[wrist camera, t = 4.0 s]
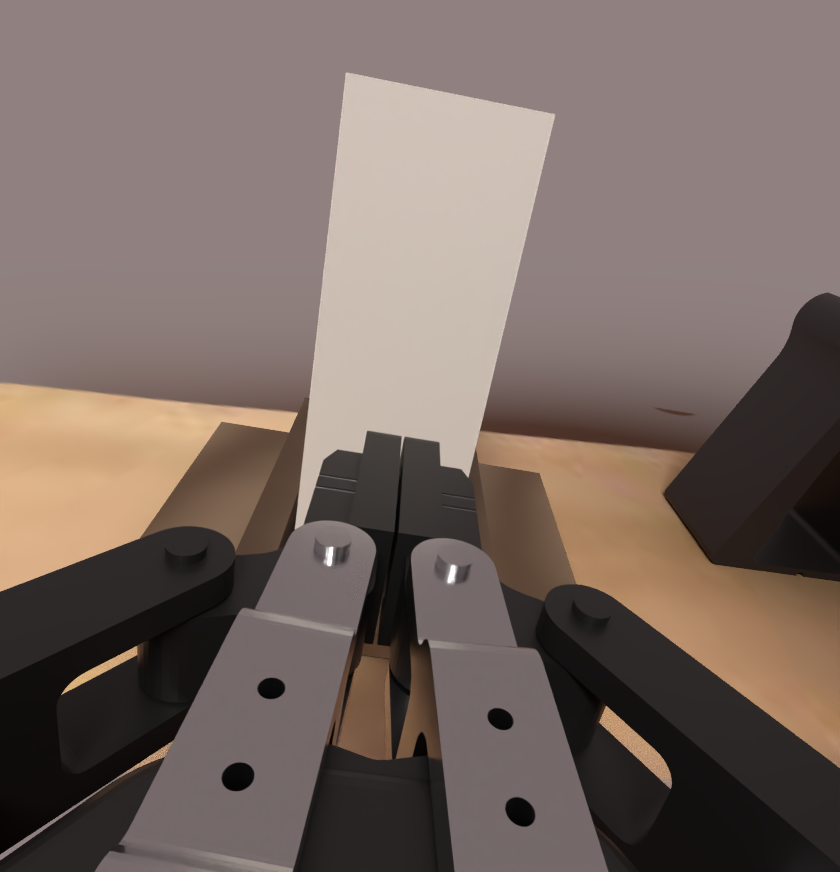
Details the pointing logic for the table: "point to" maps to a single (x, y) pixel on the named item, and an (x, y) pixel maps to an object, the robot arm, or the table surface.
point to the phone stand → (775, 462)
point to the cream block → (418, 267)
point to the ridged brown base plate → (279, 490)
